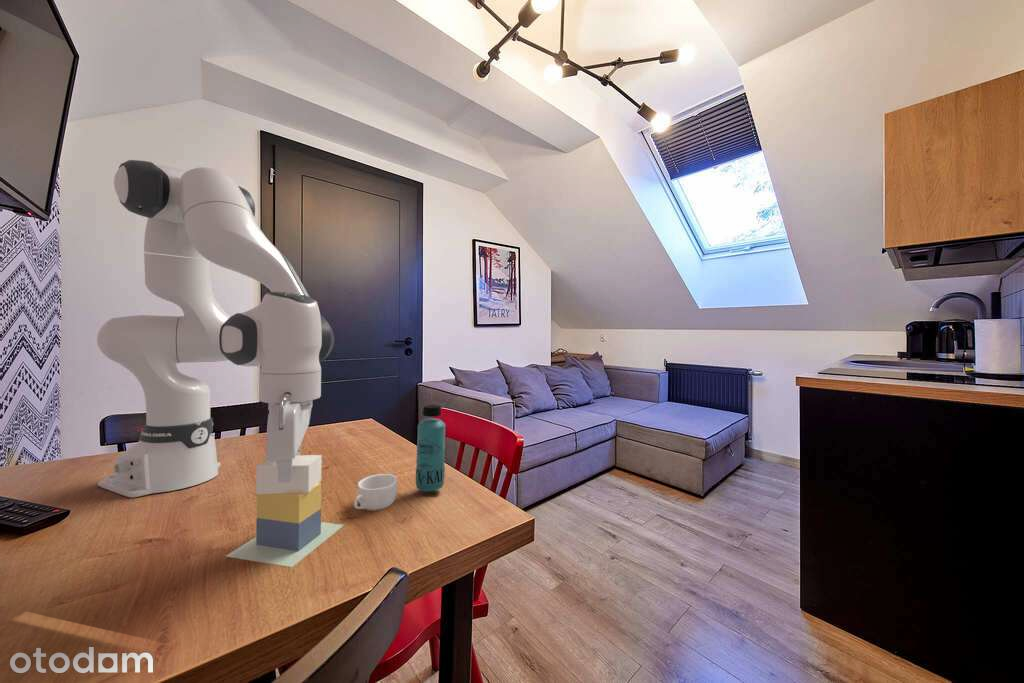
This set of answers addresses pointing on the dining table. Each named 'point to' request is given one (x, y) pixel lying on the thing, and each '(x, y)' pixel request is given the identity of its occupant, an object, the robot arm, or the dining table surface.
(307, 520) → the navy brick
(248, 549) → the build plate
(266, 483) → the cream brick
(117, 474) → the robot arm
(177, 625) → the dining table surface
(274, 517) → the mustard brick
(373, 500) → the teacup
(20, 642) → the dining table surface
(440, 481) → the beverage bottle
